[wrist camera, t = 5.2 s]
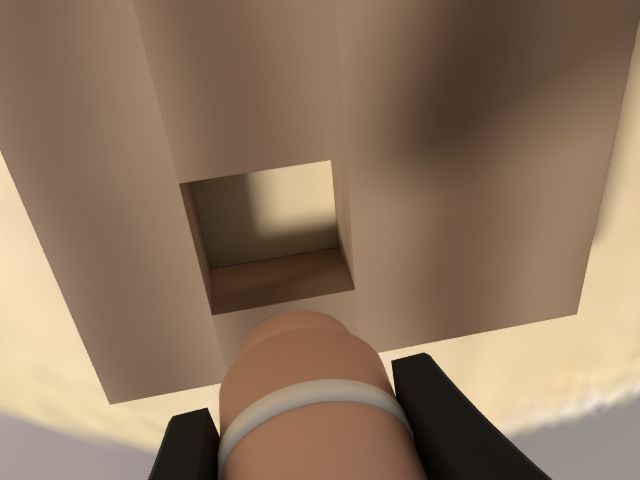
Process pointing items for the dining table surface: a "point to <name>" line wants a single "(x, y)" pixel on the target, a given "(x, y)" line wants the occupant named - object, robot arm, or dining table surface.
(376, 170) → the board
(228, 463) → the peg
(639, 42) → the dining table surface
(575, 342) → the dining table surface
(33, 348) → the dining table surface
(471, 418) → the robot arm
